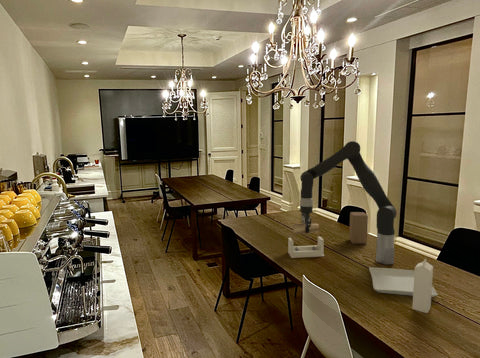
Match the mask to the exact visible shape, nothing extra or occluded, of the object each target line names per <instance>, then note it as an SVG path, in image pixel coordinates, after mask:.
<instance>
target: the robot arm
mask: <svg viewBox="0 0 480 358" xmlns="http://www.w3.org/2000/svg"><path fill="white" fill-rule="evenodd" d="M345 160H348V161H349V163H350V165H351V166H352V167H353V170H354V172H355V174H356V176H357V178H358V181H359V183H360V184H361V186H362V187H363V189H364V191H365V192H366V193H367V194H368V195H369V196H370V197H371V198H372V199H373V201H374V202H375V204H376V206H377V208H378V210H377V212H376V231H377V232H376V234H377V235H376V249H375V250H376V254H375V255H376V257H375V261H376V262H377V263H379V264H381V265H394V260H395V248H394V247H395V226H394V224H395V219H396V217H397V212H398V211H397V209H396V208H395V206H394V204H392V203H393V202H391V200H390V199H389V198H388V196H387V195H386V193H385V190H384V189H383V187H382V185H381V183H380V182H379V180H378V178H377V176H376V174H375V172H374V171H373V170H372V169H371V168H370V167H369V165H368V164H367V163H366V162H365V160H364V159H363V157H362V154H361V145H360V143H359V142H357V141H353V140H352V141H351V140H350V141H348V142H347V143H345V145H344V146H343V147H342V148H340V149H339V150H338V151H336V152H335V153H334V154H333V155H331V156H329V157H327V158H325V159H324V160H322V161H320V162H319V163H318V164H316V165H315V166H313V167H312V168H309V169H307V170H305V171H304V172H302V173H301V174H300V176H299V177H300V181H301V189H300V201H299V202H300V203H299V206H300V207H299V212H300V213H301V224H305V233H306V234H310V233H309V227H311V223H312V217H311V215H310V214H312V213H313V205H314V204H313V203H314V201H313V200H314V199H313V188H314V180H315V179H316V178H319V177H322V176H324V175H325V174H326V173H328V172H331V170H332V169H334V168H335V167H336V166H338V165H339V164H340V163H342V162H344V161H345Z"/></svg>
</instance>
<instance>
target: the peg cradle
mask: <svg viewBox="0 0 480 358" xmlns="http://www.w3.org/2000/svg"><path fill="white" fill-rule="evenodd" d="M287 240H288V241H287V242H288V243H287V245H288V246H287V247H288V248H287V249H288V251H287V253H288V256H290V258H291V259H296V258H316V257H325V254H324V246H325V242H324V241H325V240H324V238H323V237H322V236H317V244H315V245H297V246H296V245H295V246H294V240H293V238H291V237H288V239H287Z"/></svg>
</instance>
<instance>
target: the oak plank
mask: <svg viewBox="0 0 480 358" xmlns="http://www.w3.org/2000/svg"><path fill="white" fill-rule="evenodd" d="M292 228H293V230H292V231H293V233H294V234H295V235H303V234H306V235H307V233H305V224H303V223H293V227H292ZM308 234H320V224H319V223H317V222H311V227H309V233H308Z"/></svg>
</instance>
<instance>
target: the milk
mask: <svg viewBox="0 0 480 358" xmlns="http://www.w3.org/2000/svg"><path fill="white" fill-rule="evenodd" d="M414 271H415V272H414V289H413V296H412V306H411V307H412V310H415V311H418V312H422V313H425V314H428V313H429V312H430V309H431V306H432V305H431V304H432V297H431V294H432V286H433V279H434V278H433V276H434V265H432V264H430V263H429V262H428V261H427V258H425V259H423V261H421V262H419V263H417V264H416V265H415V267H414Z"/></svg>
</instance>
